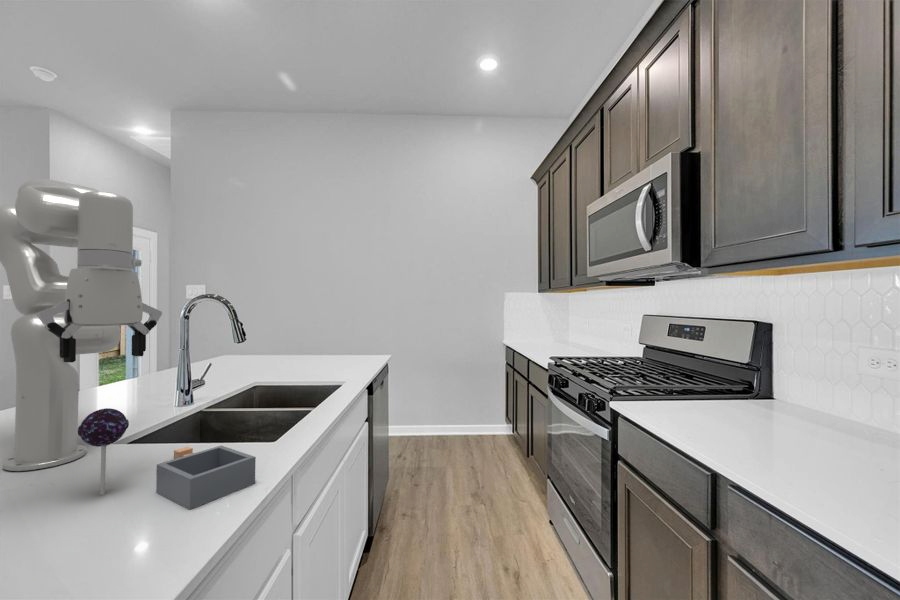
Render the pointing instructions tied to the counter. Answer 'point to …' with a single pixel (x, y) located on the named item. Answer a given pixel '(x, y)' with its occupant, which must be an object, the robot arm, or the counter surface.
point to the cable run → (183, 452)
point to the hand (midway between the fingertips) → (105, 358)
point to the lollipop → (103, 433)
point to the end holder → (205, 476)
